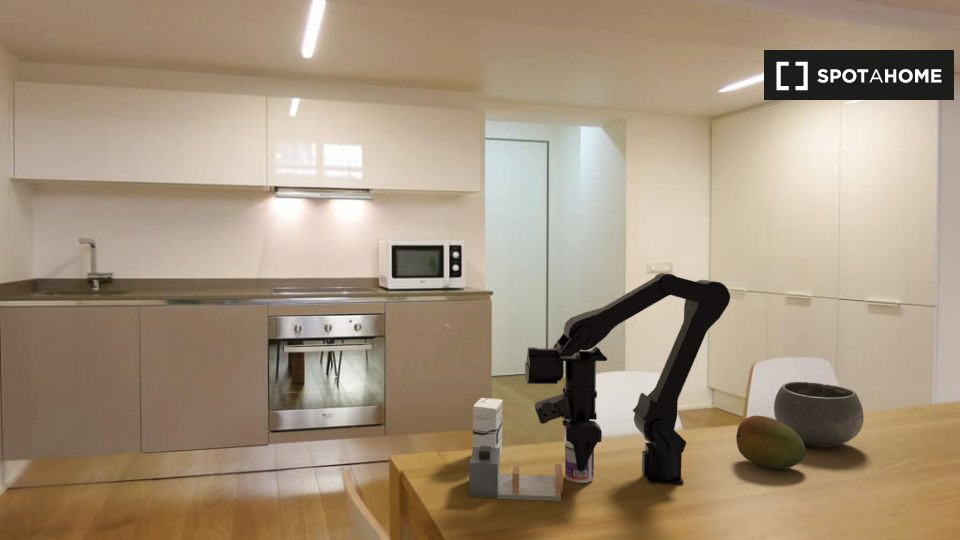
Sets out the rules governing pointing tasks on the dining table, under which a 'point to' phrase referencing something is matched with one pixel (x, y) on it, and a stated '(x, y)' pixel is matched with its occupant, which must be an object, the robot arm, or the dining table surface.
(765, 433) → the fruit
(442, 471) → the dining table surface
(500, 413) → the ink box
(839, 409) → the bowl
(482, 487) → the grey block with slats
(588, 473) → the pill bottle
